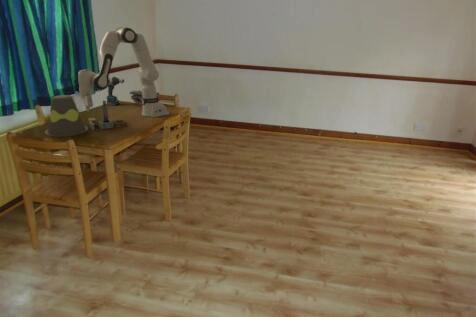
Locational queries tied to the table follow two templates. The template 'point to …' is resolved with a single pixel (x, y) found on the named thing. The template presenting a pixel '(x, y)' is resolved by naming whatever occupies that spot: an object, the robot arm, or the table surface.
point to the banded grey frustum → (64, 118)
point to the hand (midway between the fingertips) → (87, 110)
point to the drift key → (93, 121)
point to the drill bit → (105, 112)
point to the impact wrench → (112, 82)
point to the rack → (119, 123)
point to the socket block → (102, 125)
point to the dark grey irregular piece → (138, 97)
